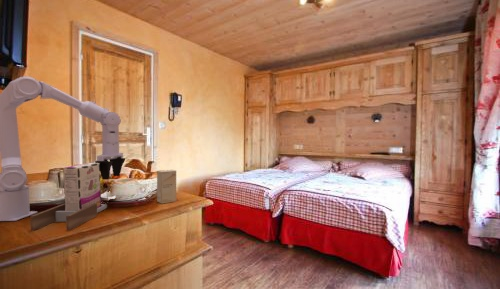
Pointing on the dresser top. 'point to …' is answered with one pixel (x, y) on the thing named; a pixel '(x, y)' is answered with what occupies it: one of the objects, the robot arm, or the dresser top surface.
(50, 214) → the shelf lane
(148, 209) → the dresser top surface
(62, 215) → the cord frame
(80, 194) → the candy bar box
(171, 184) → the skincare box
